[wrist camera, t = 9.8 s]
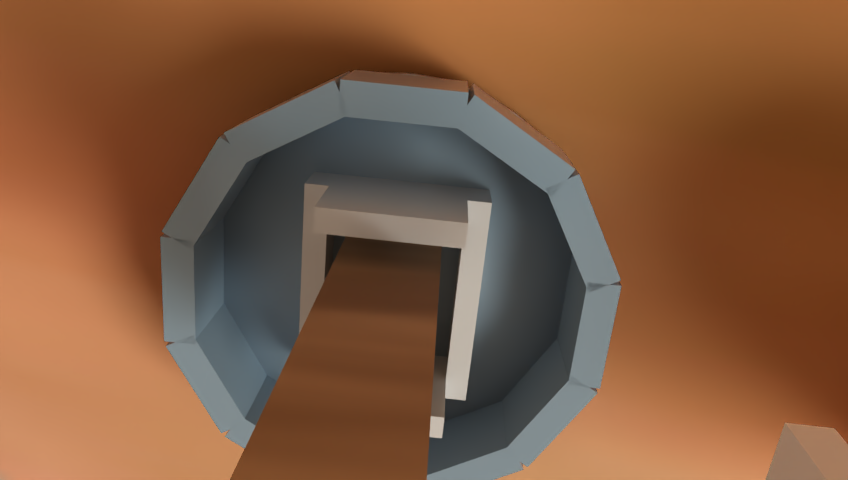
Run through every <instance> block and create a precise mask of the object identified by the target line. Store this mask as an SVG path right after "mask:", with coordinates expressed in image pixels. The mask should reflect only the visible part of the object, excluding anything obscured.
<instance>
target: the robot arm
mask: <svg viewBox="0 0 848 480" xmlns="http://www.w3.org/2000/svg"><path fill="white" fill-rule="evenodd" d="M766 480H848V444H847V443H846V441H845V440H844V439H843V438H842V437H841V435H840V434H839V433H838V432H837V431H836V429H835V428H828V427H820V426H811V425H802V424H793V423H785V424H784V427H783V430H782V433H781V436H780V439H779V442H778V445H777V448H776V450H775V453H774V456H773V459H772V462H771V465H770V468H769V471H768V474H767V477H766Z"/></svg>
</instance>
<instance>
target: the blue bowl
mask: <svg viewBox="0 0 848 480" xmlns="http://www.w3.org/2000/svg"><path fill="white" fill-rule="evenodd" d="M162 232H163V233H164V234H163V235H162V236H161V237H160V244H161V270H162V297H163V323H164V341H167V342H169V343H168V344H167V345H166V347H167V349H168V350H169V352H170V354H171V355H172V357H173V358H174V360H175V361H176V363H177V364H178V366H179V368H180V369H181V371H182V372H183V374H184V375H185V377H186V379H187V380H188V382H189V383H190V385H191V386H192V388H193V390H194V391H195V393H196V394H197V396H198V397H199V399H200V401H201V402H202V404H203V405H204V407H205V408H206V410H207V412H208V413H209V415H210V416H211V418H212V419H213V421H214V423H215V424H216V426H217V427H218V429H219V430H220V432H221V433H223V432H225V431H228V432H227V434H226V436H225V437H226V438H228V439H230V440H231V441H233V442H235V443H236V444H238V445H240V446H241V447H243V448H245V447H246V445H247V443H248V441H249V439H250V437H251V435H252V432H253V430H254V428H255V426H256V424H257V422H258V420H259V418H260V416H261V414H262V411H263V409H264V407H265V405H266V403H267V401H268V399H269V397H270V395H271V392H272V390H273V388H274V386H275V384H276V382H277V380H278V378H279V376H280V374H281V371H282V369H283V367H284V365H285V363H286V361H287V359H288V357H289V355H290V352H291V350H292V348H293V346H294V344H295V342H296V340H297V338H298V336H299V334H300V331H301V329H302V327H303V325H304V323H305V321H306V319H307V317H308V315H309V312H310V310H311V308H312V306H313V304H314V302H315V300H316V298H317V296H318V294H319V291H320V289H321V287H322V285H323V283H324V281H325V279H326V277H327V275H328V272H329V270H330V268H331V266H332V264H333V262H334V260H335V258H336V256H337V254H338V251H339V249H340V247H341V245H342V243H343V241H344V239H345V237H346V236H348V237H357V238H367V239H376V240H386V241H395V242H405V243H414V244H423V245H433V246H442V252H441V267H440V282H439V298H438V313H437V328H436V344H435V359H434V374H433V390H432V405H431V420H430V436H429V451H428V467H427V480H494V479H497V478H500V477H503V476H506V475H509V474H512V473H515V472H518V471H521V470H523V464H524V465H525V466H527V467H528V466H529V465H530V464H531V463H532V462H533V461H534V460H535V459H536V458H537V457H538V456H539V454H540V453H541V452H542V451H543V450H544V449H545V448H546V447H547V446H548V445H549V444H550V443H551V442H552V441H553V440H554V439H555V438H556V436H557V435H558V434H559V433H560V432H561V431H562V430H563V429H564V428H565V427H566V426H567V425H568V424H569V423H570V422H571V421H572V420H573V419H574V417H575V416H576V415H577V414H578V413H579V412H580V411H581V410H582V409H583V408H584V407H585V406H586V405H587V404H588V403H589V402H590V401H591V399H592V398H593V397H594V396H595V395H596V394H597V390H596V388H600V386H601V381H602V376H603V372H604V367H605V362H606V357H607V353H608V348H609V343H610V338H611V334H612V329H613V324H614V319H615V314H616V310H617V305H618V300H619V295H620V291H621V284H620V282H619V281H621V279H620V276H619V274H618V271H617V269H616V266H615V264H614V261H613V259H612V256H611V254H610V251H609V248H608V246H607V243H606V241H605V238H604V236H603V233H602V231H601V228H600V226H599V223H598V221H597V218H596V215H595V213H594V210H593V208H592V205H591V203H590V200H589V198H588V195H587V193H586V190H585V187H584V185H583V182H582V180H581V177H580V175H579V173H578V172H577V170H576V169H575V167H574V166H573V164H572V163H571V161H570V160H569V159H568V157H567V156H566V154H565V153H564V152H563V150H562V149H561V148H560V147H558V146H557V145H556V144H554V143H553V142H551V141H550V140H549V139H547V138H546V137H545V136H543V135H542V134H541V133H539V132H538V131H537V130H535V129H534V128H533V127H532V126H531V125H530V124H528V123H527V122H526V121H525V120H524V119H523V118H521V117H520V116H519V115H518V114H517V113H515V112H514V111H512V110H511V109H509V108H508V107H506V106H505V105H503V104H501V103H500V102H498V101H497V100H495V99H494V98H492V97H491V96H489V95H488V94H487V93H485V92H484V91H483V90H481V89H480V88H479V87H477V86H476V85H475V84H472V85H471V86H470V87H468V81H461V80H452V79H443V78H440V77H434V76H428V75H422V74H416V73H401V72H374V71H364V70H354V71H352V72H351V73H350V71H347V72H345V73H343V74H341V75H339V76H337V77H335V78H333V79H330V80H328V81H326V82H324V83H322V84H320V85H318V86H316V87H314V88H311V89H309V90H306V91H304V92H302V93H301V94H299V95H297V96H295V97H293V98H290V99H288V100H286V101H284V102H282V103H280V104H278V105H276V106H274V107H272V108H269V109H267V110H265V111H263V112H261V113H259V114H257V115H255V116H253V117H251V118H249V119H247V120H245V121H244V122H242V123H240V124H238V125H236V126H235V127H233V128H231V129H229V130H228V131H226V132H224V134H223V135H221V136H220V137H219V138H218V140H217V141H216V143H215V145H214V146H213V148H212V149H211V151H210V153H209V154H208V156H207V158H206V159H205V161H204V163H203V164H202V166H201V168H200V169H199V171H198V172H197V174H196V176H195V177H194V179H193V181H192V182H191V184H190V186H189V187H188V189H187V191H186V192H185V194H184V195H183V197H182V199H181V200H180V202H179V204H178V205H177V207H176V209H175V210H174V212H173V214H172V215H171V217H170V218H169V220H168V222H167V223H166V225H165V227H164V228H163V230H162Z"/></svg>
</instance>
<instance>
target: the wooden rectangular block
mask: <svg viewBox="0 0 848 480" xmlns="http://www.w3.org/2000/svg"><path fill="white" fill-rule="evenodd" d="M441 252H442V246H433V245H423V244H414V243H405V242H395V241H386V240H376V239H367V238H357V237H348V236H346V237H345V239H344V241H343V243H342V245H341V247H340V249H339V251H338V254H337V256H336V258H335V260H334V262H333V264H332V266H331V268H330V270H329V272H328V275H327V277H326V279H325V281H324V283H323V285H322V287H321V289H320V291H319V294H318V296H317V298H316V300H315V302H314V304H313V306H312V308H311V310H310V312H309V315H308V317H307V319H306V321H305V323H304V325H303V327H302V329H301V331H300V334H299V336H298V338H297V340H296V342H295V344H294V346H293V348H292V350H291V352H290V355H289V357H288V359H287V361H286V363H285V365H284V367H283V369H282V371H281V374H280V376H279V378H278V380H277V382H276V384H275V386H274V388H273V390H272V392H271V395H270V397H269V399H268V401H267V403H266V405H265V407H264V409H263V411H262V414H261V416H260V418H259V420H258V422H257V424H256V426H255V428H254V430H253V432H252V435H251V437H250V439H249V441H248V443H247V445H246V447H245V449H244V451H243V454H242V456H241V458H240V460H239V462H238V464H237V466H236V468H235V470H234V472H233V475H232V477H231V479H230V480H427V467H428V451H429V436H430V420H431V405H432V390H433V374H434V359H435V344H436V328H437V313H438V298H439V282H440V267H441Z"/></svg>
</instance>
